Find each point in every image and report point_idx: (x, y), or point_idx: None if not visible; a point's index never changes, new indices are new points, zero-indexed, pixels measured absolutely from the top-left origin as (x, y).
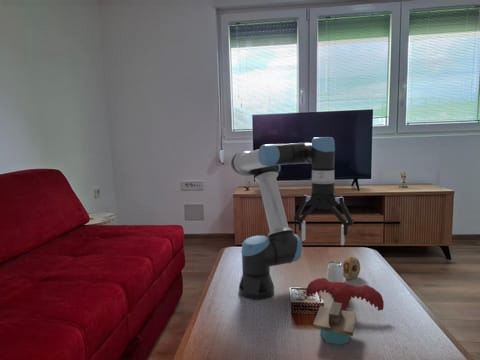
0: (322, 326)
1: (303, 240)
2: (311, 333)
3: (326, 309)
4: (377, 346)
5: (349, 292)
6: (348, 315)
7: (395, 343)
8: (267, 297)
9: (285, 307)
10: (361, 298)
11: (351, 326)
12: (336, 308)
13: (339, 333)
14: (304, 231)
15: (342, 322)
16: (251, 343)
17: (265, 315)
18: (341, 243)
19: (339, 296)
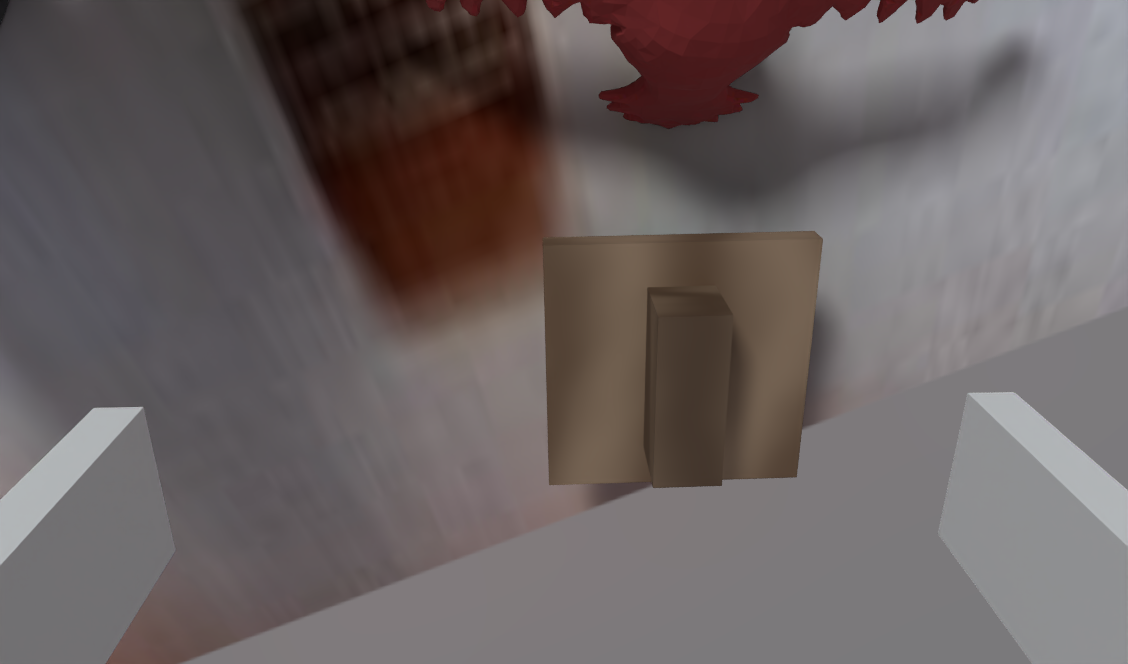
0: (609, 481)
1: (168, 555)
2: (517, 348)
3: (599, 278)
4: (901, 320)
5: (784, 12)
6: (766, 299)
7: (1010, 251)
8: (5, 7)
9: (231, 104)
10: (883, 14)
11: (788, 419)
12: (699, 405)
13: None
14: (60, 625)
15: (729, 397)
16: (239, 552)
17: (152, 274)
18: (963, 557)
19: (686, 72)
